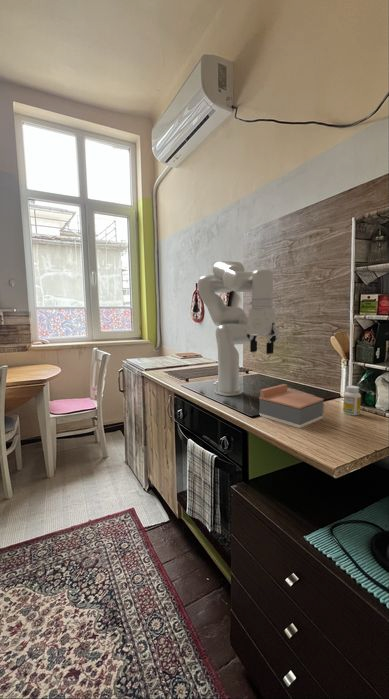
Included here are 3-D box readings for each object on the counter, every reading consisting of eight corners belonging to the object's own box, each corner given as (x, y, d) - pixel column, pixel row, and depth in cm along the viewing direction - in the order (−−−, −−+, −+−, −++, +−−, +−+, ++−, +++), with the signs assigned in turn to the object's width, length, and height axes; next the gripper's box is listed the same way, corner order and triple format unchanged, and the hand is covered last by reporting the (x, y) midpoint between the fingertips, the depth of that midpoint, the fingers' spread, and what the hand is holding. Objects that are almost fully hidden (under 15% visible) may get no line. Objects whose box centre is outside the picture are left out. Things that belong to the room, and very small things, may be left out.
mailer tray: (259, 415, 110) (259, 399, 109) (282, 407, 119) (283, 392, 118) (299, 428, 98) (300, 409, 97) (322, 418, 107) (323, 401, 106)
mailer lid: (259, 398, 109) (259, 389, 109) (283, 391, 118) (283, 383, 118) (299, 408, 97) (299, 399, 97) (323, 400, 106) (323, 391, 106)
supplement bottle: (355, 410, 114) (356, 385, 113) (362, 415, 109) (364, 388, 108) (340, 410, 114) (341, 385, 113) (347, 415, 109) (348, 388, 108)
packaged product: (273, 388, 132) (290, 385, 137) (273, 399, 133) (290, 396, 137) (306, 398, 116) (324, 394, 121) (305, 410, 117) (324, 406, 121)
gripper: (237, 305, 118) (237, 351, 120) (275, 303, 105) (274, 355, 107) (250, 305, 123) (250, 349, 125) (288, 303, 110) (287, 353, 112)
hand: (261, 352), depth 116 cm, fingers open, 6 cm apart
